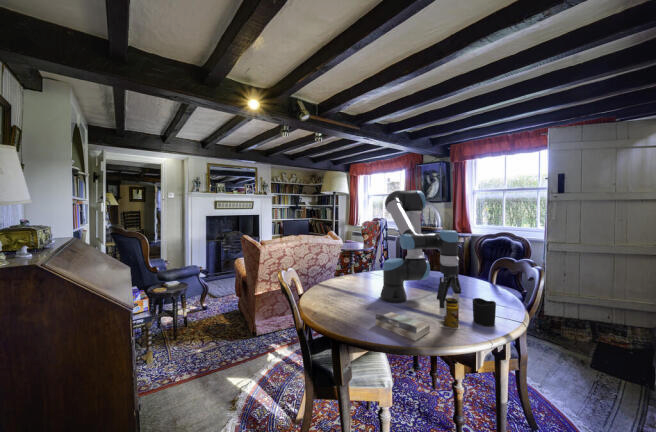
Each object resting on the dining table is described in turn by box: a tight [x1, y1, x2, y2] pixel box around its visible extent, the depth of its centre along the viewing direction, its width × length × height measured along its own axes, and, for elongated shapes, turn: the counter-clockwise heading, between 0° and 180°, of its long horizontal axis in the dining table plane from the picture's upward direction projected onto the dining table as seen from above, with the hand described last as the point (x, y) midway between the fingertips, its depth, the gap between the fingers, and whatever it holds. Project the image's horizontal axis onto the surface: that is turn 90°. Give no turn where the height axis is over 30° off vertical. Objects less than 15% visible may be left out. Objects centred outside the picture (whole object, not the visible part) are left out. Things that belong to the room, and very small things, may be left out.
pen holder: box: [472, 297, 497, 327], centre depth 124 cm, size 9×9×10 cm
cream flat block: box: [375, 311, 431, 342], centre depth 119 cm, size 20×12×6 cm, turn 42°
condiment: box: [438, 297, 461, 330], centre depth 122 cm, size 7×8×12 cm
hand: (449, 311), depth 122 cm, fingers open, 13 cm apart
